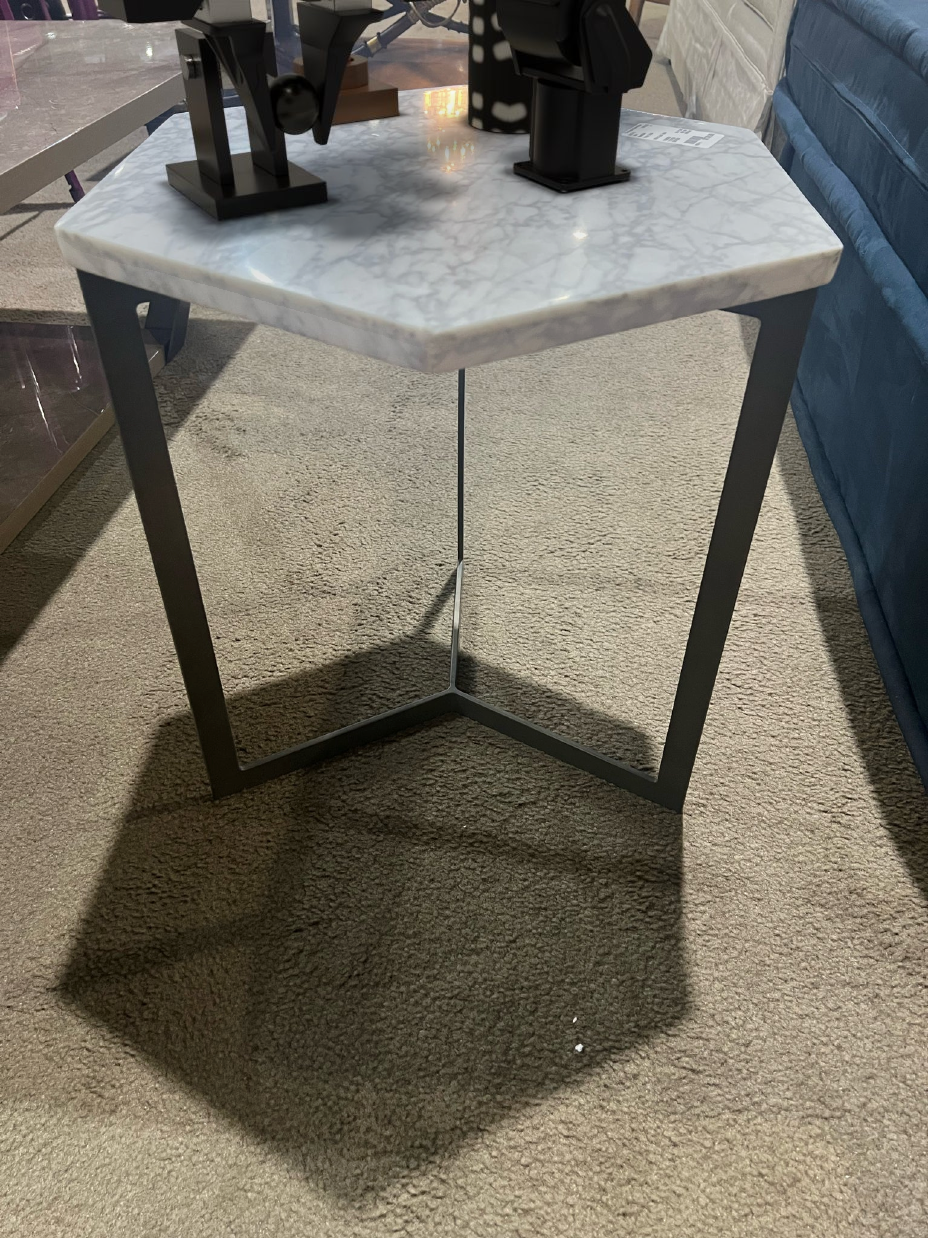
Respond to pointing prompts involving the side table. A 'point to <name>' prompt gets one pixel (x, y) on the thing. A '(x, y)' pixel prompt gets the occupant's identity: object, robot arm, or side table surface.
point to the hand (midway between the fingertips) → (295, 147)
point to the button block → (360, 93)
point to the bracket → (217, 173)
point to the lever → (287, 100)
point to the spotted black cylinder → (494, 75)
